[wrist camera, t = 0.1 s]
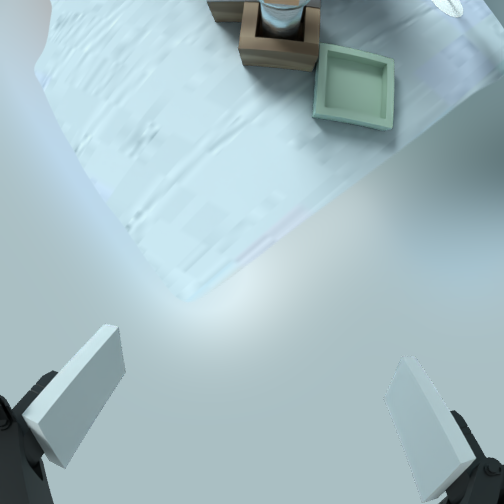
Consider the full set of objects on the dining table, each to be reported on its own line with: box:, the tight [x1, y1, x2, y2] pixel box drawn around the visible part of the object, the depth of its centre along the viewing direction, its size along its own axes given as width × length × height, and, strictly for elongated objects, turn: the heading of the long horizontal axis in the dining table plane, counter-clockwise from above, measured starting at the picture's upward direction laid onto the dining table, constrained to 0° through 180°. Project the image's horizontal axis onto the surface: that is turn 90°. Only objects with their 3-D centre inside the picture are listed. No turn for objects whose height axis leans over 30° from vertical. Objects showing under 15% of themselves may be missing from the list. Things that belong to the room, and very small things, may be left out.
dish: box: [312, 42, 394, 131], centre depth 32 cm, size 10×10×3 cm
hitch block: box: [207, 0, 321, 72], centre depth 29 cm, size 9×14×6 cm, turn 85°
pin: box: [258, 0, 310, 41], centre depth 24 cm, size 6×6×13 cm
